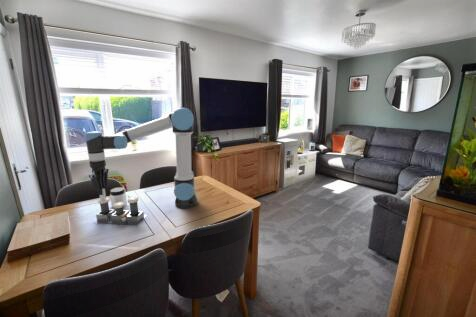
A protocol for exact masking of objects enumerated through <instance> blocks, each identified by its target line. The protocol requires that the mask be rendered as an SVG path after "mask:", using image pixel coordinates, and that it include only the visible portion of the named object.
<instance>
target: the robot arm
mask: <svg viewBox="0 0 476 317" xmlns="http://www.w3.org/2000/svg"><path fill="white" fill-rule="evenodd" d="M194 119H195V118H194V114H193V112H192V110H191V109H190V108H187V107H183V106H182V107H178V108H176V109H174V110H173V111H172V112H169V113H168V114H167V115H165V116H162V117H160V118H157V119H154V120H151V121H148V122H145V123H143V124H142V123H141V124H140V125H137V126H134V127H131V128H128V129H125V130H122V131H119V132H117V133H114V134H109V135H104V134H103V133H102V131H97V130H95V131H88V132H87V131H86V133H85V134H84V135H85V142H86V149H87V155H88V160H89V167H90V168H91V172H92V173H90V174H89V175H88V177H89V178H90V181H91V183H92V185H93V189H94V190H97V191H98V192H97V193H98V195H99V199H100V200H105V199H106V198H107V194H106V189H107V187H108V184H109V183H108V180H109V168H106V165H107V163H106V155H105V150H122V149H126V148H127V147H128V144H129V143H131V142H134V141H137V140H140V139H143V138H146V137H148V136H152V135H154V134H157V133H160V132H163V131H166V130H169V129H172V133H173V134H174V135H175V155H176V156H175V158H176V160H175V161H176V172H175V175H174V177H173V180H174V189H173V193H174V197H175V199H174V200H175V201H174V205H175V207H177V208H178V209H190V208H192V207H195V206H197V204H198V202H199V201H198V198H197V195H196V191H195V190H196V189H195V174H194V171H193V170H192V134H193V133H194V121H195V120H194Z"/></svg>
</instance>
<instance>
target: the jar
mask: <svg viewBox="0 0 476 317" xmlns="http://www.w3.org/2000/svg"><path fill="white" fill-rule="evenodd" d="M109 194H110V195H109V197H110V198H109V200H110V206H111V207H112V208H114V206H113V205H114V204H115V203H118V202H123V203H124V205H125V206H124V207H126V206H127V205H128V204H127V203H128V200H127V196H126V191H125V188H124V187H114V188H111V189H110V191H109Z"/></svg>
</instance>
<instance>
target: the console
mask: <svg viewBox="0 0 476 317" xmlns="http://www.w3.org/2000/svg"><path fill="white" fill-rule="evenodd" d="M109 211H110V212H109V213H108V214H102V212H101V210H100V211H99V212H98V213H95V215H96V216H95V217H96V220H95V221H94V222H93V224H97V225H98V224H99V225H101V224H103V225H118V226H132V227H133V226H136V227H137V226H138V225H139V224H140V223H141V222H142V221H143V220H144V219H145V218H146V217H147V216H148V215H147V214H145V213H144V210H138V214H137V215H131V211H130V209H129V210H127V209H124V213H127V216H126V219H127V223H125V224H122V219H121V216H120V215H116V209H114V208H113V209H112V208H111V209H110V208H109Z"/></svg>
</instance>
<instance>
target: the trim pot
mask: <svg viewBox="0 0 476 317" xmlns="http://www.w3.org/2000/svg"><path fill="white" fill-rule="evenodd" d="M120 216H121V219H122V224H125V223H127V219H126V216H127V213H122V214H121V215H120Z"/></svg>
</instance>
